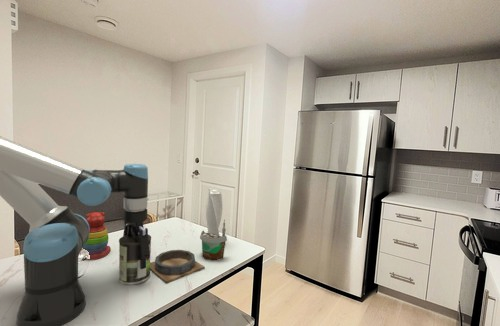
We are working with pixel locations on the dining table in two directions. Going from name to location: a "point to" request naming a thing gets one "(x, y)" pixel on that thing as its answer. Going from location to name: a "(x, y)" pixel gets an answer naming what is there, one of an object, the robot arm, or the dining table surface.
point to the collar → (176, 268)
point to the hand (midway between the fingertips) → (135, 270)
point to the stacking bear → (97, 236)
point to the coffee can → (131, 261)
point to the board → (171, 263)
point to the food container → (212, 246)
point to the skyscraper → (214, 212)
